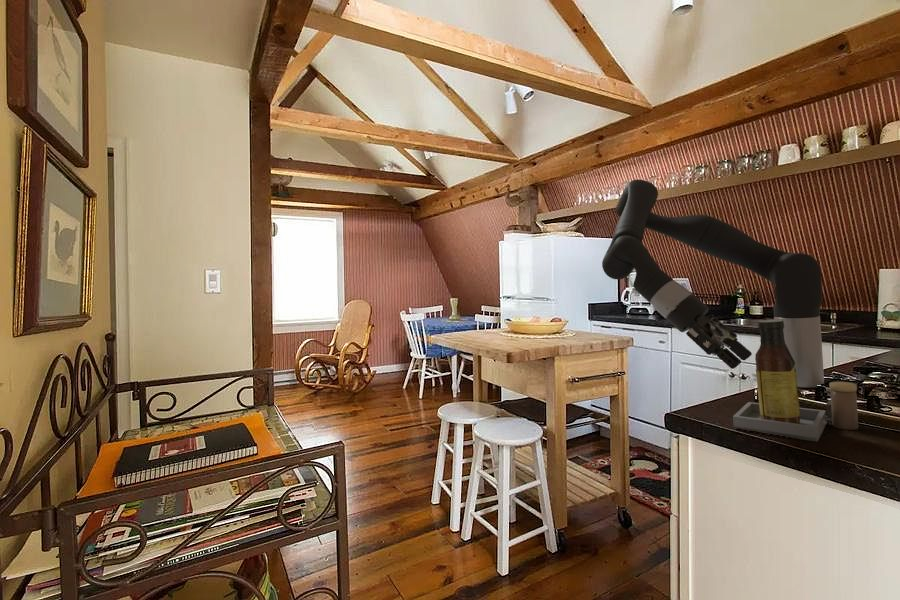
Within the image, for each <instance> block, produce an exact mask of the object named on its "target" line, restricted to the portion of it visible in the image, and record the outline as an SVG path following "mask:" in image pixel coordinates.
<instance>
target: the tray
mask: <svg viewBox="0 0 900 600" xmlns="http://www.w3.org/2000/svg"><path fill="white" fill-rule="evenodd" d="M799 408H800V423H799V424H796V423H788V422H780V421H773V420H765V419H761V414H760V407H759V402H752V401H748V402H747V403H746V404H745V405H743V406H742V407H741V408H740V409H739V410H738V411H737V412H736V413H735V414H733V416H732V423H733V424H732V425H733V428H734V427H736V428H742V429H748V430H752V431H758V432H763V433H769V434H774V435H773V436H775V435H780V436H779V437H782V436H785V437H784V438H789V437H791V439H795V438H796V440H803V441H809V442H817V443H818V442H819V439H820V438H821V436H822V434H823V433H824V429H825V427H826V425H827V423H828V422H827V410H824V409H823V410H822V409H817V408H816V409H814V408H805V407H799ZM769 434H768V435H769Z"/></svg>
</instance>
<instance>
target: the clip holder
mask: <svg viewBox="0 0 900 600" xmlns="http://www.w3.org/2000/svg"><path fill="white" fill-rule="evenodd" d="M825 409H826V410H825V411H826V421H829V422H832V408H831V399H828V400H827V403H826V404H825Z"/></svg>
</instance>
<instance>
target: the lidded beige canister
mask: <svg viewBox="0 0 900 600" xmlns="http://www.w3.org/2000/svg"><path fill="white" fill-rule="evenodd" d="M828 385H829V390H830V391H829V392H830V400H831V408H832V421H831V422H832V426H833V428H836V429H842V430H847V431H849V430H850V431H852V430H853V431H854V430H858V429H859V417H858V416H859V415H858V400H857V398H858V397H857V391H858V387H857V386H858V384H857V383H854V382H847V381H831V382H829V383H828Z"/></svg>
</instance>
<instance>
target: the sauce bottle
mask: <svg viewBox="0 0 900 600" xmlns="http://www.w3.org/2000/svg"><path fill="white" fill-rule="evenodd" d="M757 328H758V330H759V334H760V335H759V337H760V340H759V341H760V346H759V348H758V349H757V351H756V353H755V355H754V357H755V358H754V359H755V367H756V369H755V376H756V383H757V384H756V385H757V394H758V403H759V407H760V414H761V419H765V420H773V421H780V422H788V423H796V424H799V423H800V408H801V407H800V400H799V387H797V378H796V368H795V362H794V360H793V358H792V356H791V354H790V352H789V350H788V348H787V346H786V344H785V340H784V332H783V328H784V322H783V321H782V320H774V319H763V320H760V321H759V320H758V321H757Z"/></svg>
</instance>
